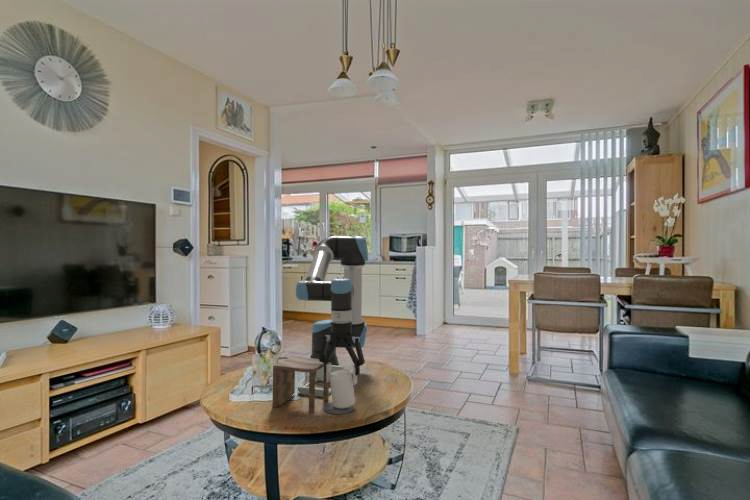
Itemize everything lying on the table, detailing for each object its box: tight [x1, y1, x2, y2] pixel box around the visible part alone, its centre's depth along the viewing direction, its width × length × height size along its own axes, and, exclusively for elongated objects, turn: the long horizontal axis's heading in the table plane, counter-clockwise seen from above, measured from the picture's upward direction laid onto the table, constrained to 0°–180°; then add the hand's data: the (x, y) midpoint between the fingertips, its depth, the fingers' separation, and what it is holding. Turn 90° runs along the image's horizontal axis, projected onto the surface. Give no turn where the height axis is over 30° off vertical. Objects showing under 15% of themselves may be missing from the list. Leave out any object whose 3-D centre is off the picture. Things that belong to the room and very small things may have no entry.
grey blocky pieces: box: [297, 365, 344, 397], centre depth 172 cm, size 20×12×7 cm, turn 163°
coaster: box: [323, 401, 355, 415], centre depth 150 cm, size 11×11×1 cm
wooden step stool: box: [271, 355, 330, 414], centre depth 155 cm, size 14×16×15 cm
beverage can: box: [329, 368, 356, 409], centre depth 151 cm, size 8×8×12 cm
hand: (341, 382), depth 151 cm, fingers open, 10 cm apart
